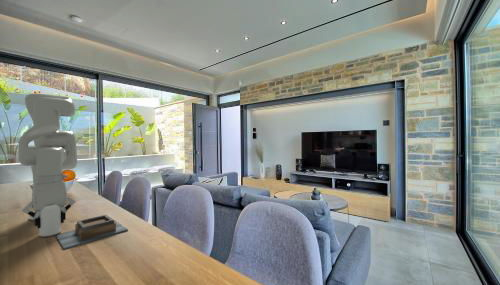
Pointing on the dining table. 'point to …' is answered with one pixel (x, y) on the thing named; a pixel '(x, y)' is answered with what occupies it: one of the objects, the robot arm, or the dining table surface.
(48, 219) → the can
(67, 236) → the board
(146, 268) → the dining table surface
